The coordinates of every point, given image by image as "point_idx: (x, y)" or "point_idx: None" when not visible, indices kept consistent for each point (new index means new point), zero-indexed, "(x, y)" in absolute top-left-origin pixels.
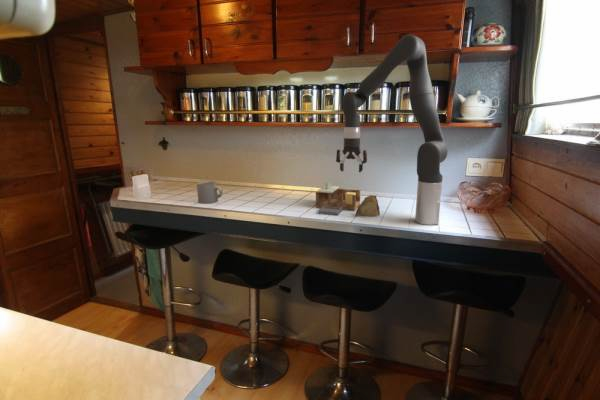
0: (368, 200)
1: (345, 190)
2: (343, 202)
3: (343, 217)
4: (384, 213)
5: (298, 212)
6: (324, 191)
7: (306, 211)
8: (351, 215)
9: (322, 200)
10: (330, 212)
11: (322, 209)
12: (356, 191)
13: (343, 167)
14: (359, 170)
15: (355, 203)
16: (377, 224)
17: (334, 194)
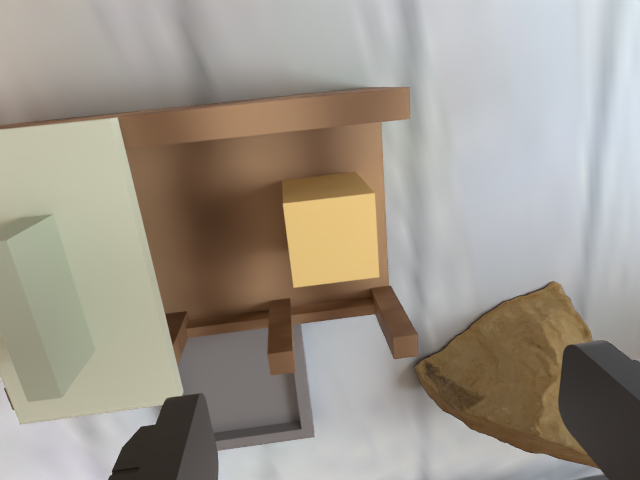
0: (557, 454)
1: (228, 135)
2: (259, 214)
3: (360, 434)
4: (587, 251)
5: (57, 470)
6: (101, 408)
7: (88, 433)
8: (392, 382)
9: None
10: (268, 439)
11: None
12: (364, 121)
13: (191, 477)
14: (594, 447)
15: None
16: None
17: None
